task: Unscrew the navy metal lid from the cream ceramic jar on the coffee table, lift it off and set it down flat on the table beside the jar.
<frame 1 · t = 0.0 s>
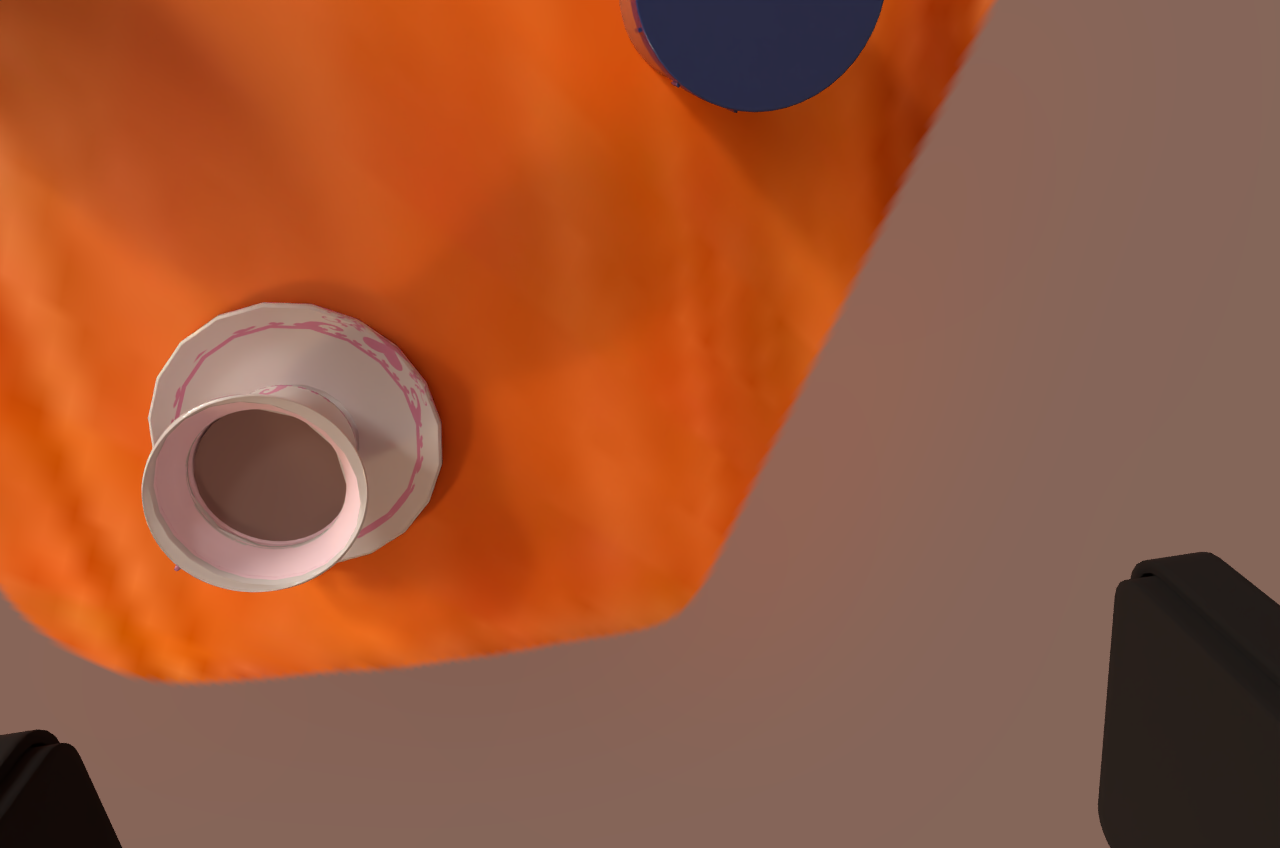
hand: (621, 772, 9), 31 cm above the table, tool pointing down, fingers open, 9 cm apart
teacup: (302, 434, 40), on the table
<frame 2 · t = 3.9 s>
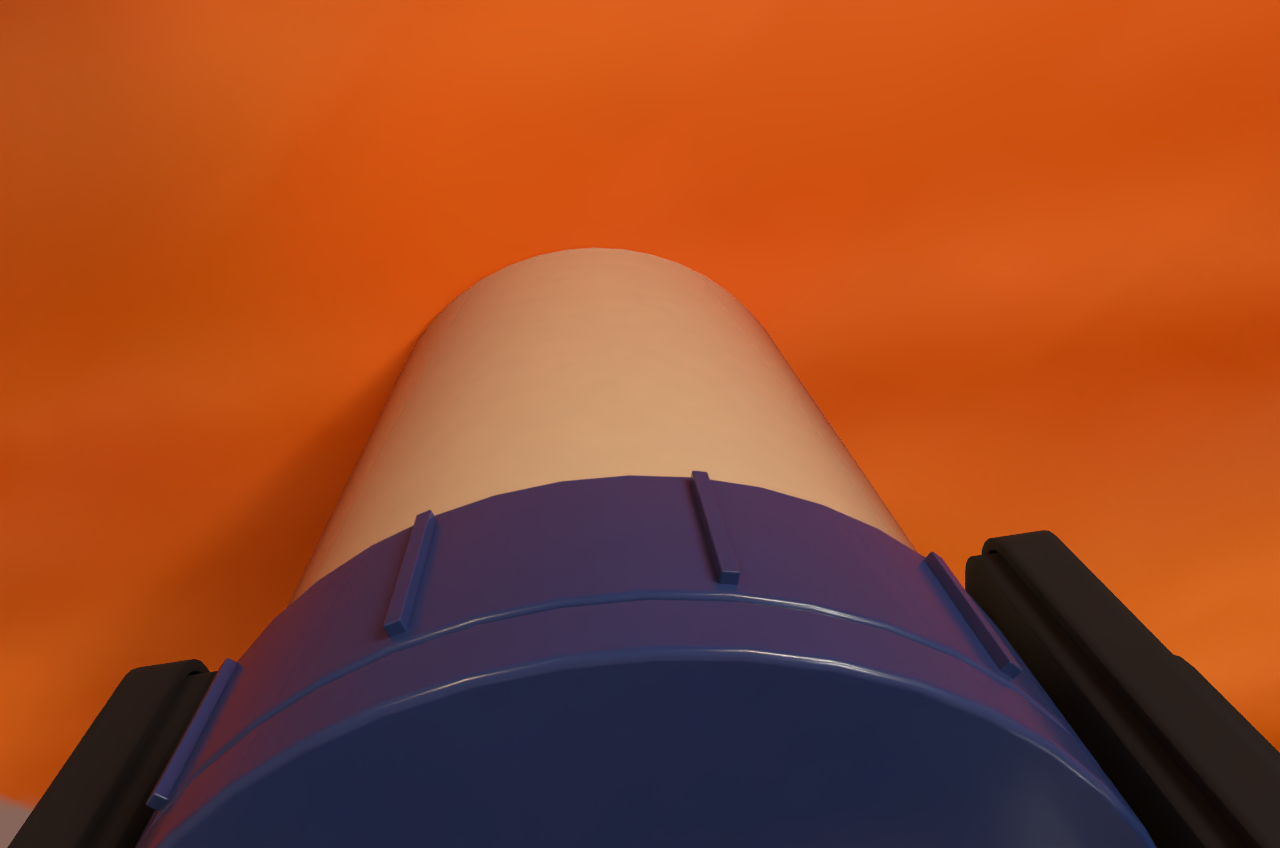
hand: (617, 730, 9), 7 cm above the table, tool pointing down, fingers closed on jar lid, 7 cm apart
jar: (597, 450, 15), on the table
when the fingers open (6 cm above the table, at t = 5.9 s): jar lid stays where it is, point 10 cm above the table.
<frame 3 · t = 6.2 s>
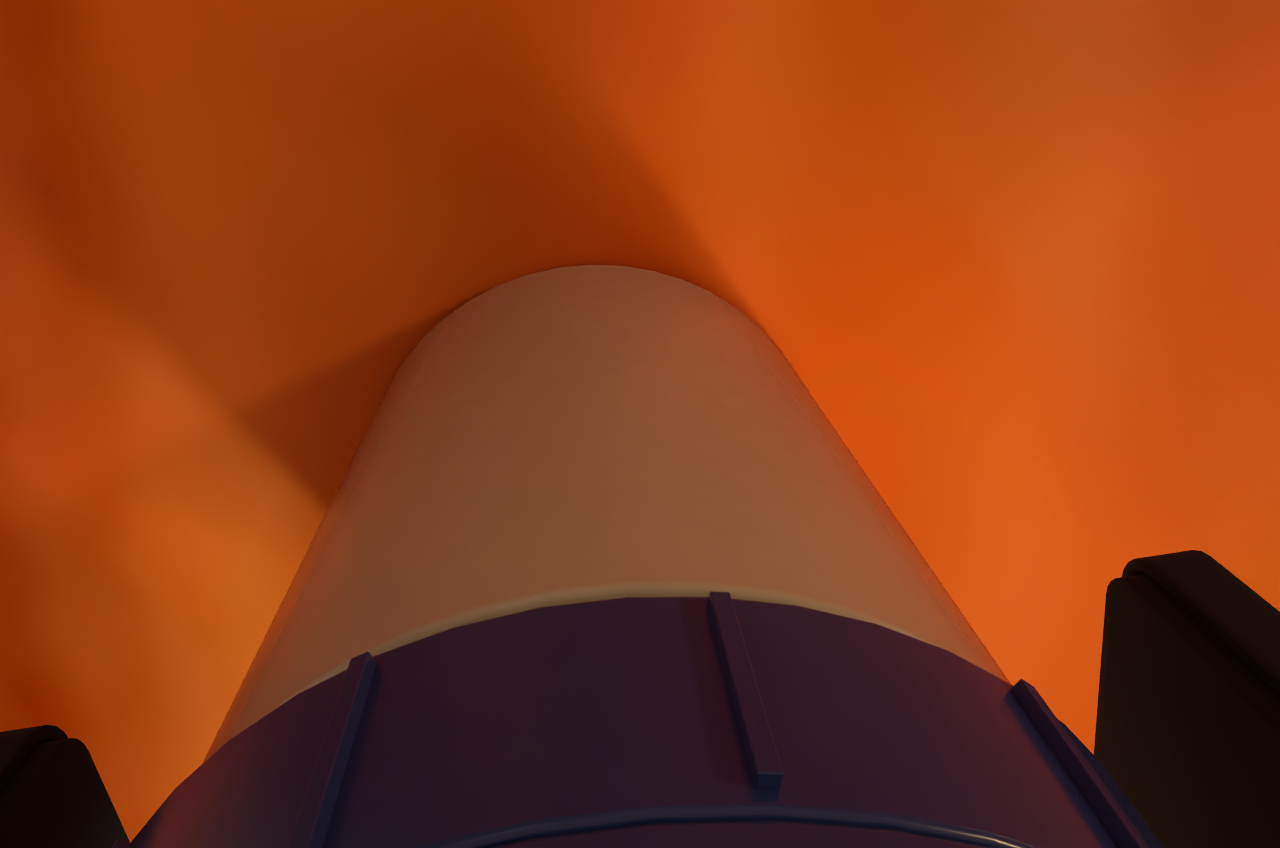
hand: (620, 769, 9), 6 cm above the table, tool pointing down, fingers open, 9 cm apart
jar: (597, 485, 14), on the table
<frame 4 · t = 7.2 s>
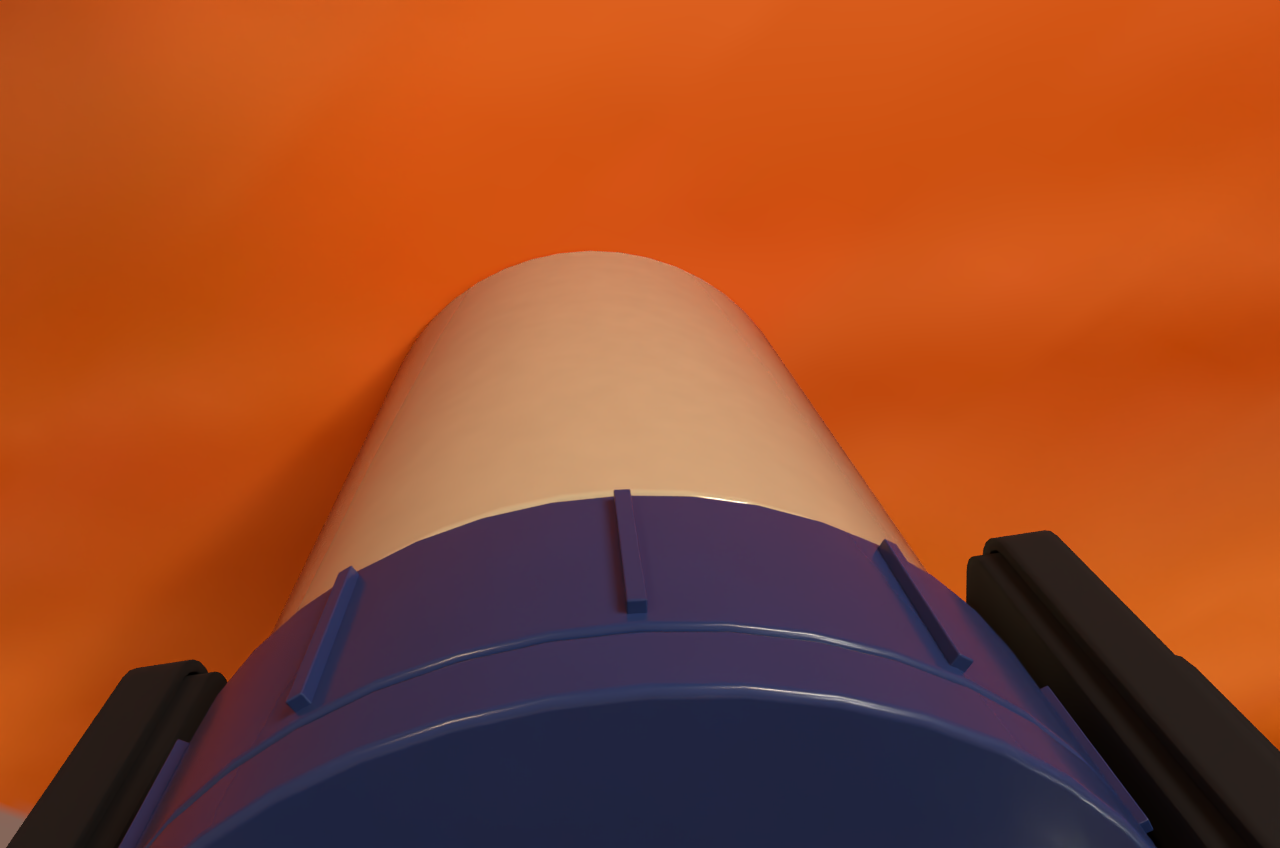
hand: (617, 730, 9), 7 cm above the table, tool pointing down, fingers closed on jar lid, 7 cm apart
jar: (593, 454, 15), on the table
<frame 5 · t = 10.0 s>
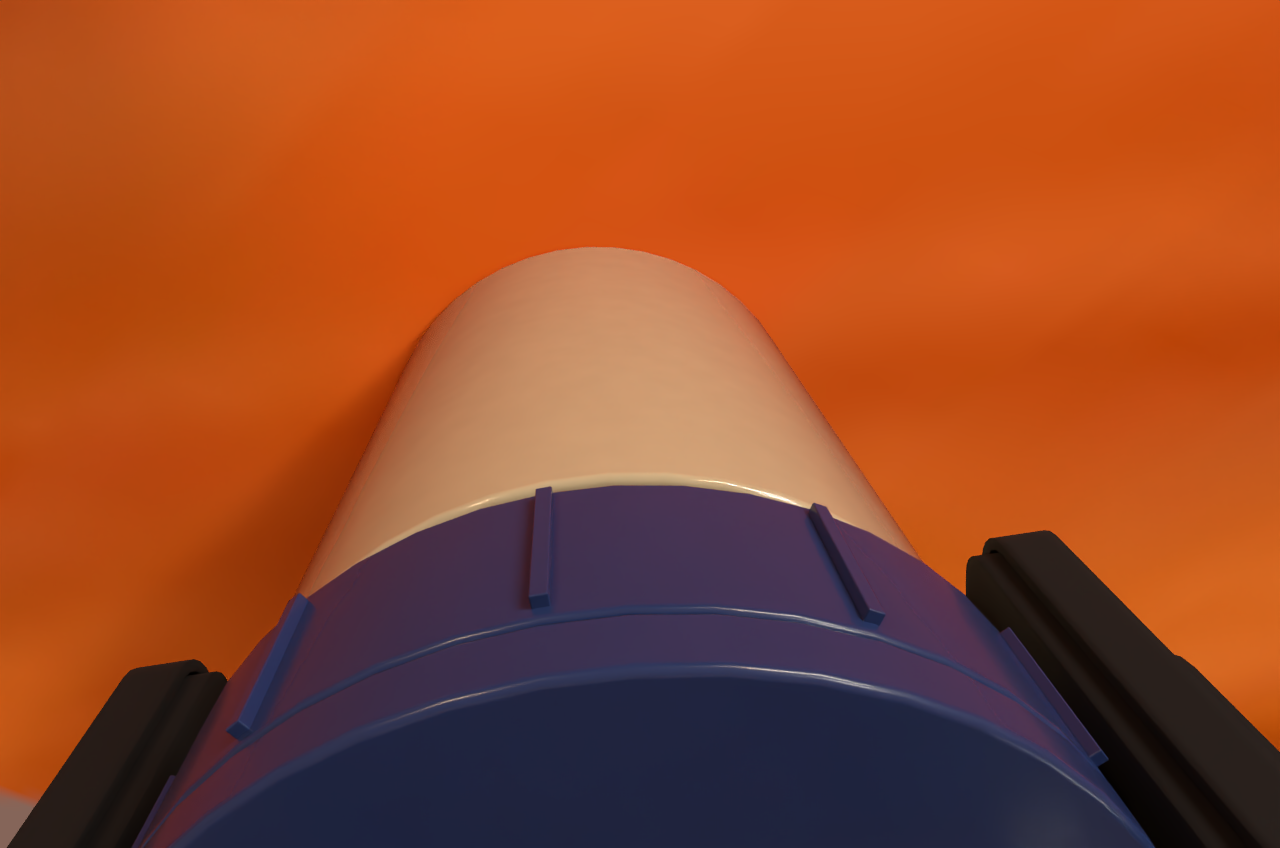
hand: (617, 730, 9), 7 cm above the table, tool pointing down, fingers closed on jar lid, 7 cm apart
jar: (597, 447, 15), on the table
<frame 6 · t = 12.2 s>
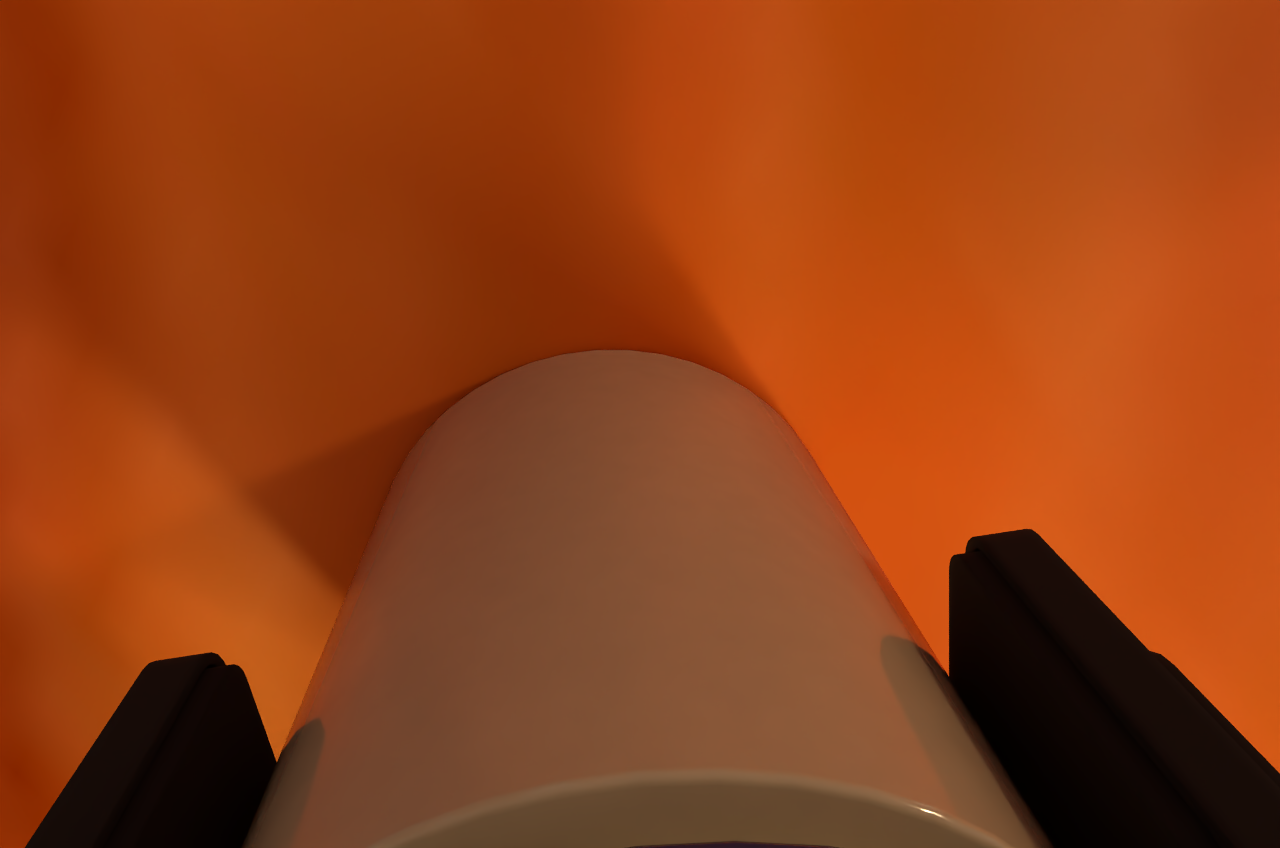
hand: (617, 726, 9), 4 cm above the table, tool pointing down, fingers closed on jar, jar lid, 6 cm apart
jar: (609, 567, 14), on the table, touching gripper
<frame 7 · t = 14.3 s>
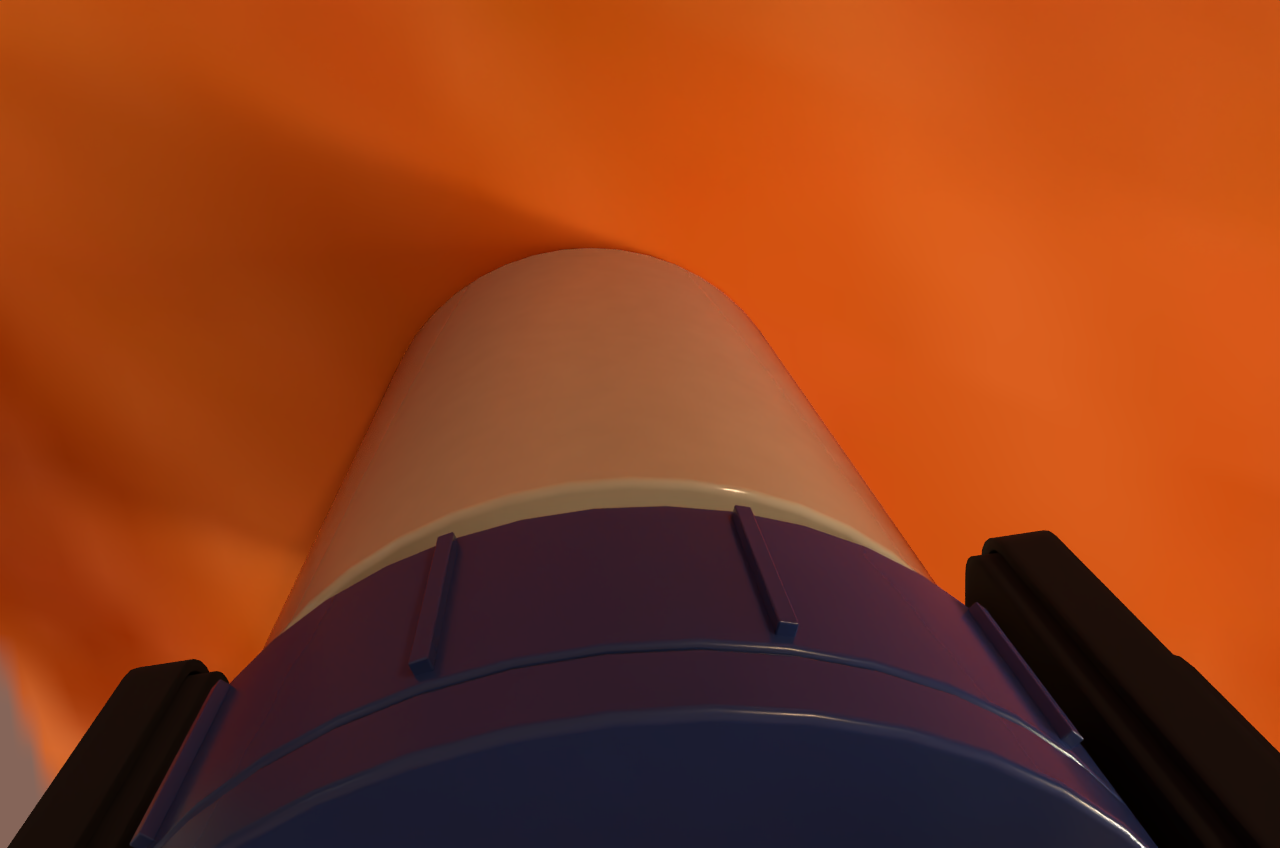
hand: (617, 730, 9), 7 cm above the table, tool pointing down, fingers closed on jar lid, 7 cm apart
jar: (591, 449, 15), on the table
when the fingers open (1 cm above the table, at t = 22.1 s): jar lid drops 3 cm, point 1 cm above the table.
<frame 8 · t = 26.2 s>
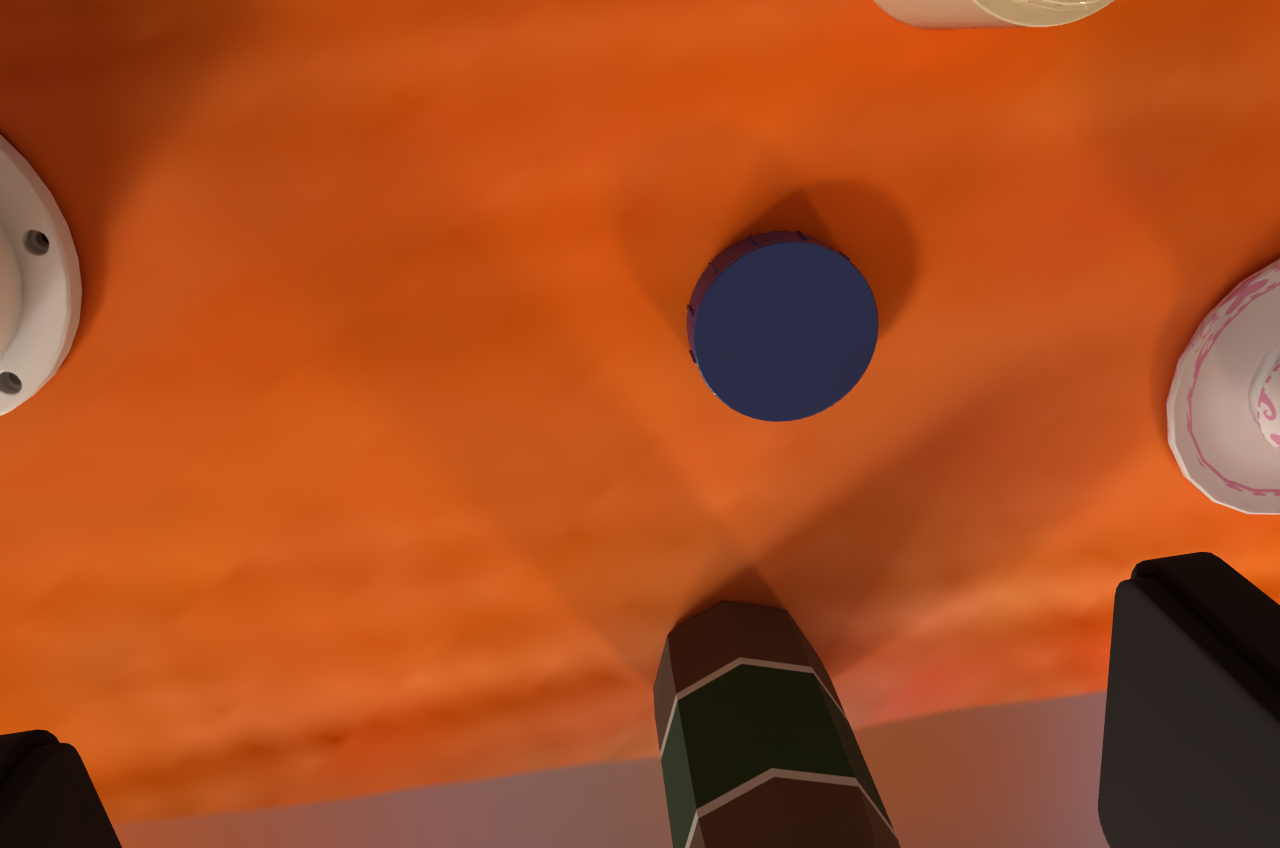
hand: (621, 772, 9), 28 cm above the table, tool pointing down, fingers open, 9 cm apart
jar lid: (783, 331, 35), point 1 cm above the table, off its thread
beer bottle: (733, 663, 43), on the table
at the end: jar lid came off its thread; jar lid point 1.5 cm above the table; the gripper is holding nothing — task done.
